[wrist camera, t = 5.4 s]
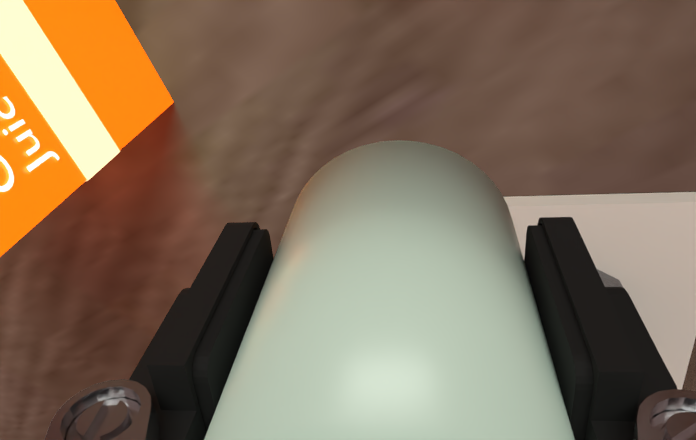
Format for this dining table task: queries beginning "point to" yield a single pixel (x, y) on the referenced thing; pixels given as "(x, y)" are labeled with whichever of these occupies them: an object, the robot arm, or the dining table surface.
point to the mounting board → (636, 256)
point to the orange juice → (66, 102)
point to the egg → (395, 313)
